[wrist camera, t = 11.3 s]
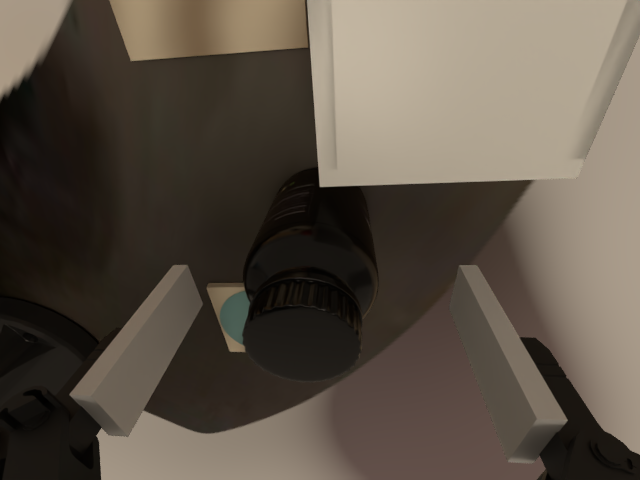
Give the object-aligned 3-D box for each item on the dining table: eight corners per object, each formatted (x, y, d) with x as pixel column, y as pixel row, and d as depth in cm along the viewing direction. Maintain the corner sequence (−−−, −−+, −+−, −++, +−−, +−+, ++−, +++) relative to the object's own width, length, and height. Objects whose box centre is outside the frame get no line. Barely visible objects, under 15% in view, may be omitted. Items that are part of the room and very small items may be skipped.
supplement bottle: (386, 216, 21) (424, 363, 11) (316, 261, 24) (298, 413, 14) (325, 143, 19) (306, 251, 9) (255, 203, 22) (180, 339, 12)
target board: (231, 346, 31) (229, 352, 30) (208, 283, 26) (205, 288, 26) (315, 348, 30) (315, 354, 30) (308, 282, 25) (307, 288, 25)
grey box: (330, 122, 18) (319, 186, 10) (322, -57, 14) (291, -219, 5) (464, 115, 17) (577, 177, 9) (501, -77, 13) (784, -297, 5)
